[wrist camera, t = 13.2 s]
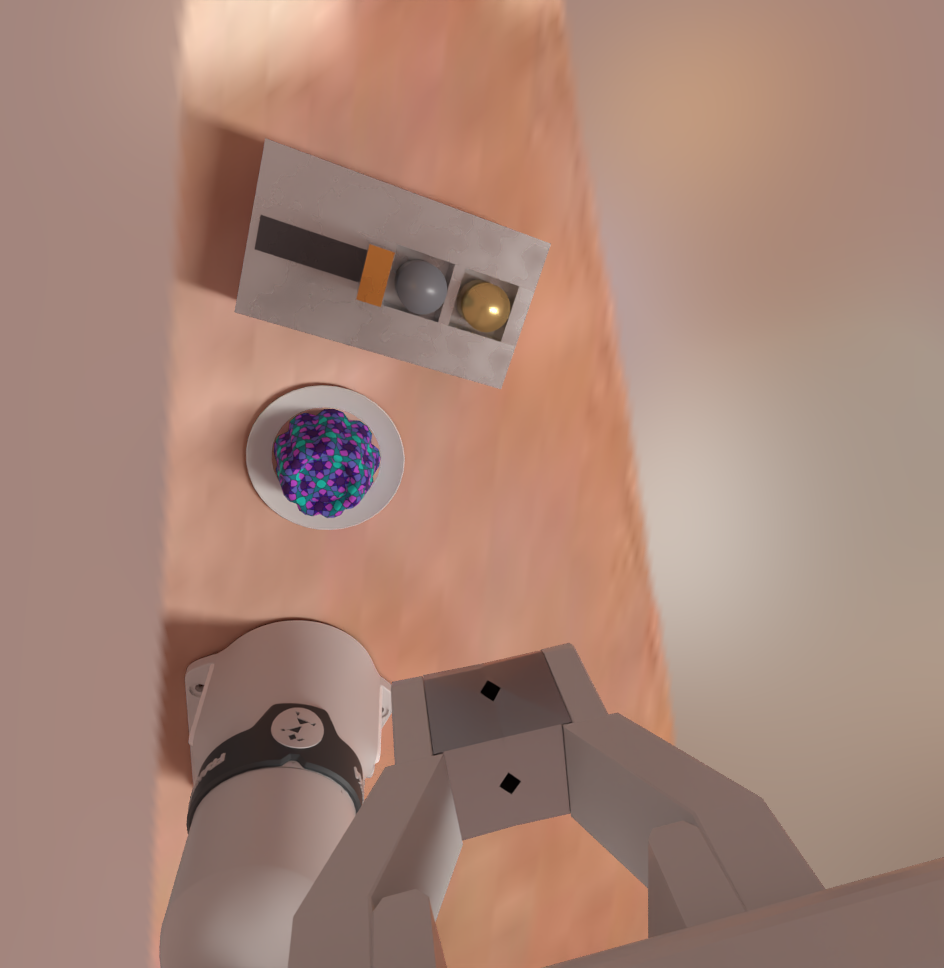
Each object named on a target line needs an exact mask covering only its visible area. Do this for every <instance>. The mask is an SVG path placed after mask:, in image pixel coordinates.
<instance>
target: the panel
mask: <svg viewBox="0 0 944 968" xmlns="http://www.w3.org/2000/svg"><path fill="white" fill-rule="evenodd" d="M369 242H370V243H373V244H376V245H379V246H382V247H385V248H388V249H391V250H392V251H393V252H395V254H394V258H393V262H392V266H391V270H390V274H389V277H388V281H387V285H386V289H385V293H384V297H383V301H382V304H381V307H378V306H375V305H372V304H369V303H366V302H362V301H359V300H356V296H357V289H358V285H359V281H360V277H361V273H362V269H363V264H364V260H365V256H366V252H367V248H368V244H369ZM550 245H551V244H550V243H547V242H545V241H542V240H539V239H537V238H534V237H531V236H528V235H526V234H523V233H520V232H518V231H515V230H512V229H510V228H507V227H504V226H501V225H499V224H496V223H493V222H491V221H488V220H485V219H482V218H480V217H477V216H474V215H472V214H469V213H466V212H464V211H461V210H458V209H455V208H453V207H450V206H447V205H445V204H442V203H439V202H437V201H434V200H431V199H428V198H426V197H423V196H420V195H418V194H415V193H412V192H409V191H407V190H404V189H401V188H399V187H396V186H393V185H391V184H388V183H385V182H382V181H380V180H377V179H374V178H372V177H369V176H366V175H364V174H361V173H358V172H355V171H353V170H350V169H347V168H345V167H342V166H339V165H336V164H334V163H331V162H328V161H326V160H323V159H320V158H318V157H315V156H312V155H309V154H307V153H304V152H301V151H299V150H296V149H293V148H291V147H288V146H285V145H282V144H280V143H277V142H274V141H272V140H269V139H266V138H265V143H264V148H263V154H262V160H261V165H260V171H259V177H258V182H257V188H256V194H255V199H254V205H253V210H252V216H251V222H250V227H249V233H248V239H247V244H246V250H245V256H244V261H243V267H242V273H241V278H240V284H239V290H238V295H237V301H236V306H235V312H236V313H239V314H243V315H246V316H250V317H253V318H256V319H260V320H263V321H267V322H270V323H274V324H277V325H281V326H284V327H288V328H291V329H295V330H298V331H301V332H305V333H308V334H312V335H315V336H319V337H322V338H326V339H329V340H333V341H336V342H339V343H343V344H346V345H350V346H353V347H357V348H360V349H364V350H367V351H371V352H374V353H378V354H381V355H384V356H388V357H391V358H395V359H398V360H402V361H405V362H409V363H412V364H416V365H419V366H422V367H426V368H429V369H433V370H436V371H440V372H443V373H447V374H450V375H454V376H457V377H461V378H464V379H467V380H471V381H474V382H478V383H481V384H485V385H488V386H492V387H495V388H499V389H501V387H502V385H503V382H504V379H505V376H506V373H507V370H508V367H509V364H510V361H511V358H512V355H513V353H514V350H515V347H516V344H517V341H518V338H519V335H520V332H521V329H522V326H523V323H524V320H525V318H526V315H527V312H528V309H529V306H530V303H531V300H532V297H533V294H534V291H535V288H536V286H537V283H538V280H539V277H540V274H541V271H542V268H543V265H544V262H545V259H546V256H547V254H548V251H549V248H550ZM414 259H420V260H424V261H427V262H429V263H430V264H432V265H434V266H436V267H437V268H438V269H439V270H440V271H441V272H442V274H443V275H444V277H445V279H446V283H447V295H446V298H445V300H444V302H443V304H442V305H441V306H440V308H438V309H437V310H436V311H434V312H432V313H430V314H424V315H421V314H416V313H413V312H411V311H409V310H408V309H407V308H406V307H405V306H404V305H403V304H402V302H401V301H400V299H399V297H398V295H397V293H396V290H395V276H396V273H397V271H398V269H399V268H400V267H401V266H402V265H403V264H404V263H406V262H407V261H410V260H414ZM472 280H484V281H487V282H489V283H491V284H494V285H496V286H498V287H500V288H501V289H502V290H503V291H504V292H505V293H506V294H507V296H508V298H509V302H510V313H509V316H508V319H507V321H506V322H505V324H504V325H503V326H502V327H500V328H499V329H497V330H495V331H492V332H481V331H478V330H476V329H474V328H473V327H472V326H471V325H470V324H469V323H468V322H467V321H465V320H464V319H463V318H462V316H461V315H460V313H459V311H458V308H457V296H458V293H459V291H460V290H461V288H462V287H463V286H464V285H465V284H466V283H468V282H470V281H472Z"/></svg>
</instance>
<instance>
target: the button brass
mask: <svg viewBox="0 0 944 968" xmlns="http://www.w3.org/2000/svg"><path fill="white" fill-rule="evenodd" d="M457 308H458V311H459V313H460V315H461V316H462V318H463V319H464V320H465V321H467V322H468V323H469V324H470V325H471V326H472V327H473V328H474V329H476V330H478V331H481V332H492V331H495V330H497V329H499V328H500V327H502V326H503V325H504V324H505V322H506V321H507V319H508V316H509V313H510V302H509V298H508V296H507V294H506V293H505V292H504V291H503V290H502V289H501V288H500V287H498V286H496V285H494V284H491V283H489V282H487V281H484V280H472V281H470V282H468V283H466V284H465V285H464V286H463V287H462V288H461V290H460V291H459V293H458V296H457Z"/></svg>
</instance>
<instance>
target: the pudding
mask: <svg viewBox="0 0 944 968" xmlns="http://www.w3.org/2000/svg"><path fill="white" fill-rule="evenodd" d="M322 407H327V408H336V409H340V410H344V411H346V412H349V413H351V414H353V415H355V416H356V417H358V418H359V419H361V420H362V421H363V422H364V423H365V424H366V425H368V427H369V428H370V429H371V431H372V432H373V433H374V435H375V437H376V439H377V441H378V444H379V447H380V452H381V457H380V453H379V450H378V449H377V448H376V447H375V446H374V445H372V444H371V437H372V433H371V432H370V430H369V428H368V427H367V426H366V425H365V424H363V423H362V422H361V421H349V420H348V418H347V417H346V416H345V414H344V413H343V412H341V411H338V410H335V409H324V410H323V411H322V412H320V413H319V414H318V415H312V414H308V413H304V414H301V415H297V414H299V413H301V412H303V411H306V410H309V409H313V408H322ZM295 415H297V416H296V417H295V418H294V419H293V420H291V421H290V424H289V431H288V432H286V433H284V434H282V435H279V436H278V438H277V440H276V442H275V443H274V440H275V438H276V435H277V433H278V432H279V430H280V429H281V427H282V426H283V425H284V424H285V423H286V422H287V421H288V420H289V419H291V418H292V417H294V416H295ZM273 443H274V454H275V457H276V461H277V464H278V465H277V467H276V472H277V476H278V478H277V476H276V474H275V471H274V469H273V464H272V448H273ZM380 458H381V467H380V470H379V474H378V476H377V478H376V481H375V482H374V484H373V485H372V483H373V475H374V473H375V471H376V470H377V468H378V467H379V464H380ZM404 462H405V457H404V448H403V444H402V441H401V437H400V434H399V432H398V430H397V428H396V426H395V424H394V423H393V421H392V420H391V419H390V417H389V416H388V415H387V414H386V412H385V411H384V410H382V409H381V408H380V407H379V406H378V405H377V404H376V403H374V402H373V401H371V400H370V399H368V398H367V397H365V396H364V395H361V394H359V393H357V392H354V391H352V390H349V389H345V388H341V387H337V386H324V385H320V386H309V387H304V388H301V389H297V390H293V391H291V392H289V393H287V394H285V395H283V396H281V397H279V398H278V399H276V400H275V401H274V402H272V403H271V404H269V406H268V407H267V408H266V409H265V410H264V411H263V412H262V413H261V414H260V415H259V417H258V418H257V420H256V422H255V423H254V425H253V427H252V429H251V432H250V434H249V437H248V442H247V447H246V464H247V469H248V473H249V477H250V479H251V482H252V484H253V486H254V488H255V490H256V491H257V493H258V494H259V496H260V497H261V499H262V500H263V501H264V502H265V503H266V504H267V505H268V506H269V507H270V508H271V509H272V510H273V511H275V512H276V513H277V514H279V515H280V516H281V517H283V518H285V519H287V520H289V521H291V522H293V523H295V524H298V525H301V526H304V527H308V528H313V529H320V530H335V529H343V528H347V527H351V526H355V525H358V524H360V523H362V522H364V521H366V520H369V519H370V518H372V517H373V516H374V515H376V514H377V513H379V512H380V511H381V510H382V509H383V508H384V507H385V506H386V505H387V504H388V503H389V502H390V500H391V499H392V498H393V496H394V495H395V493H396V491H397V489H398V487H399V485H400V483H401V479H402V476H403V472H404ZM278 479H279V480H278ZM371 485H372V487H371ZM370 487H371V488H370Z"/></svg>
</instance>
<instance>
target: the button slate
mask: <svg viewBox="0 0 944 968" xmlns="http://www.w3.org/2000/svg"><path fill="white" fill-rule="evenodd" d="M395 290H396V293H397V295H398V297H399V299H400V301H401V302H402V304H403V305H404V306H405V307H406V308H407V309H408V310H409V311H411V312H413V313H416V314H421V315H424V314H430V313H432V312H434V311H436V310H437V309H438V308H440V306H441V305H442V304H443V302H444V300H445V298H446V295H447V283H446V279H445V277H444V275H443V274H442V272H441V271H440V270H439V269H438V268H437V267H436V266H434V265H432V264H430V263H429V262H427V261H424V260H420V259H414V260H410V261H407V262H406V263H404V264H403V265H402V266H401V267H400V268H399V269H398V271H397V273H396V276H395Z"/></svg>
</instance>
